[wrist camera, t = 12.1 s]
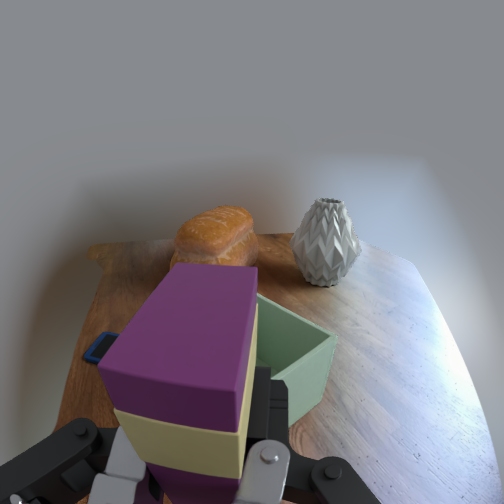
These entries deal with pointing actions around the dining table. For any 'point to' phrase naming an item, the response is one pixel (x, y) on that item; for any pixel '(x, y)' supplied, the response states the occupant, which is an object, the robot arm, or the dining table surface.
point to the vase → (325, 243)
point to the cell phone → (100, 347)
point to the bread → (217, 239)
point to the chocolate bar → (189, 379)
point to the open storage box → (294, 354)
